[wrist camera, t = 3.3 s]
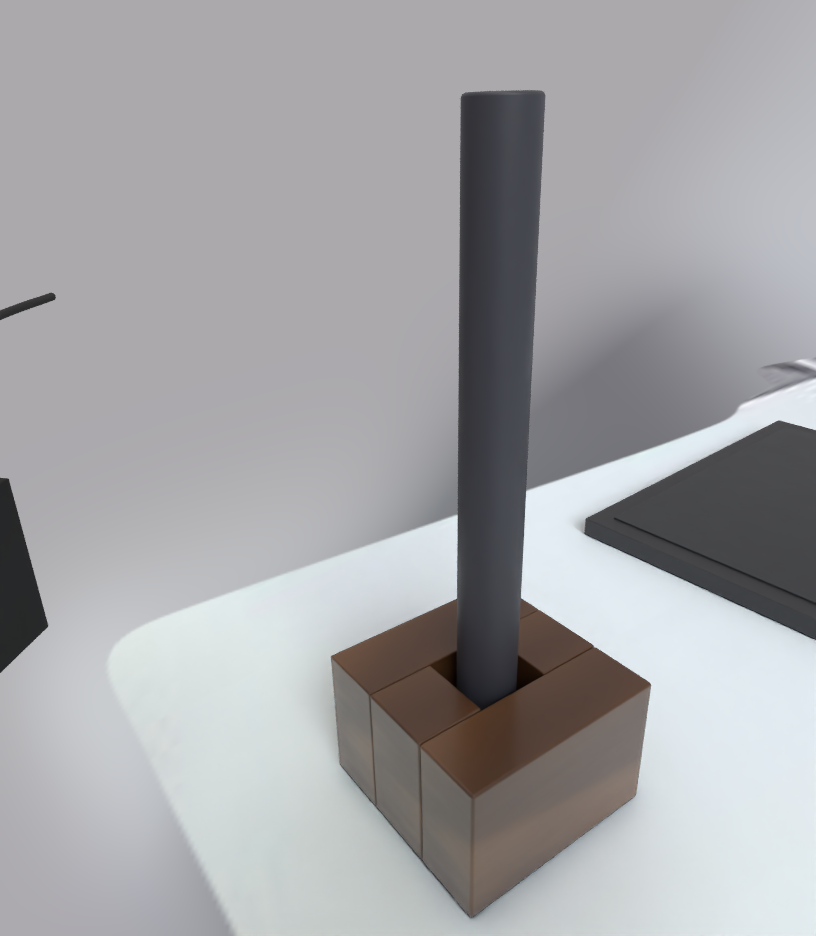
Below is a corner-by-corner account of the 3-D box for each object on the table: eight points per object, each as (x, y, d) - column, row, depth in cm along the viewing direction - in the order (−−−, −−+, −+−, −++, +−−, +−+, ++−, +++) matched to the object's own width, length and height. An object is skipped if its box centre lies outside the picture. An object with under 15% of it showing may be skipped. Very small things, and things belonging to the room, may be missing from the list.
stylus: (452, 760, 25) (456, 93, 17) (506, 756, 26) (535, 92, 17) (459, 804, 24) (467, 91, 15) (516, 800, 24) (554, 89, 16)
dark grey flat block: (776, 432, 50) (778, 418, 50) (1034, 504, 41) (1040, 487, 40) (584, 533, 39) (585, 516, 39) (879, 668, 29) (885, 647, 29)
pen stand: (339, 764, 25) (330, 655, 24) (492, 680, 29) (495, 580, 27) (471, 920, 20) (473, 797, 18) (637, 796, 24) (652, 682, 22)
